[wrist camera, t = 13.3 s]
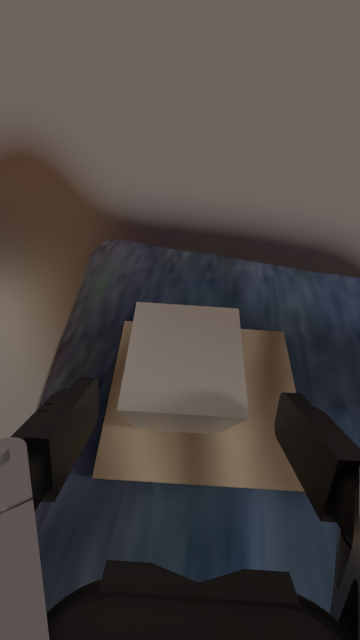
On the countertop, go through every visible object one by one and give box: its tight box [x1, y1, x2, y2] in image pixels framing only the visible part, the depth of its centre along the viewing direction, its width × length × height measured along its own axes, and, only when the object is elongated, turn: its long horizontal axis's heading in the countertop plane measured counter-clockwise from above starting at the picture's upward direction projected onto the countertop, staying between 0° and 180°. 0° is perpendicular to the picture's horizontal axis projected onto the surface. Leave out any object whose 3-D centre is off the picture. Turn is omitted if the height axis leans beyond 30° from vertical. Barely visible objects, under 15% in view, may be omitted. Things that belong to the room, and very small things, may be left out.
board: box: [92, 321, 305, 492], centre depth 20 cm, size 16×13×1 cm
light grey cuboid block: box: [117, 302, 249, 434], centre depth 16 cm, size 6×6×8 cm
